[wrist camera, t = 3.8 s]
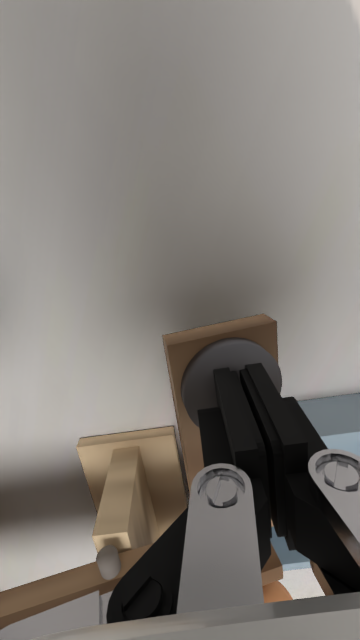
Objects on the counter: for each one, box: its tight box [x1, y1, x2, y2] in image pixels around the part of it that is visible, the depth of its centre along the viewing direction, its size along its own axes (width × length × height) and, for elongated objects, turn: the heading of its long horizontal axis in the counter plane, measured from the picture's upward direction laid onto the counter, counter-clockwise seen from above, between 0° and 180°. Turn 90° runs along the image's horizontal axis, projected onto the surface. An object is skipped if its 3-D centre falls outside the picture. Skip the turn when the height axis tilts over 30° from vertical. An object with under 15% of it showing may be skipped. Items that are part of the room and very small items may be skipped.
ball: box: [262, 581, 293, 603], centre depth 14 cm, size 3×3×3 cm
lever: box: [0, 314, 283, 630], centre depth 12 cm, size 17×21×3 cm
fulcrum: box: [76, 426, 188, 554], centre depth 18 cm, size 9×6×6 cm, turn 8°
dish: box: [270, 393, 360, 571], centre depth 20 cm, size 10×10×4 cm
